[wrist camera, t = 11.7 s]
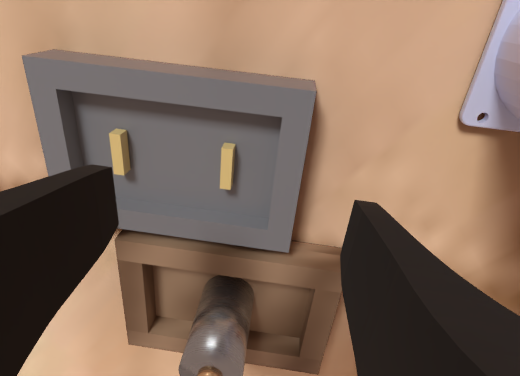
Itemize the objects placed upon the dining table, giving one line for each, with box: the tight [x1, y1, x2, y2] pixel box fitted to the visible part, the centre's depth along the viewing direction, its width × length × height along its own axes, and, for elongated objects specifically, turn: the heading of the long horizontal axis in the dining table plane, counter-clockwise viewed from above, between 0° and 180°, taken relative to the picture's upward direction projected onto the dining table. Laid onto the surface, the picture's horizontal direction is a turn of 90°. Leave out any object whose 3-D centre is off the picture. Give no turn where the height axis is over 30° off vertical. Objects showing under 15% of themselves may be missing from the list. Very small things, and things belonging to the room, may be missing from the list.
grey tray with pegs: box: [22, 49, 316, 253], centre depth 19 cm, size 14×9×3 cm
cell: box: [179, 275, 254, 376], centre depth 22 cm, size 4×4×6 cm
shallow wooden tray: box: [115, 229, 342, 375], centre depth 24 cm, size 14×10×2 cm
